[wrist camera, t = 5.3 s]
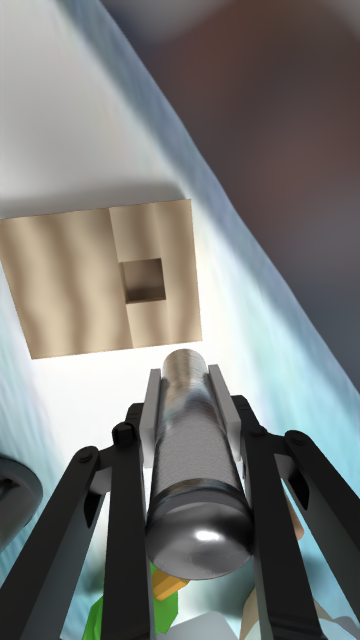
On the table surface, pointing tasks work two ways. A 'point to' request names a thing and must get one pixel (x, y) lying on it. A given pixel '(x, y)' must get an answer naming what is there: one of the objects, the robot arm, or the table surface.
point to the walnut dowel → (295, 520)
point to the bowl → (251, 627)
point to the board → (103, 278)
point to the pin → (195, 480)
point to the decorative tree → (162, 599)
